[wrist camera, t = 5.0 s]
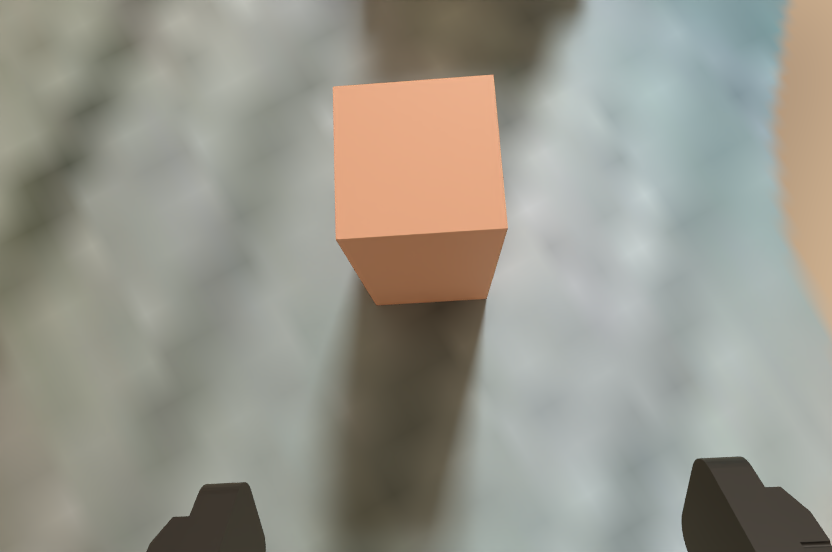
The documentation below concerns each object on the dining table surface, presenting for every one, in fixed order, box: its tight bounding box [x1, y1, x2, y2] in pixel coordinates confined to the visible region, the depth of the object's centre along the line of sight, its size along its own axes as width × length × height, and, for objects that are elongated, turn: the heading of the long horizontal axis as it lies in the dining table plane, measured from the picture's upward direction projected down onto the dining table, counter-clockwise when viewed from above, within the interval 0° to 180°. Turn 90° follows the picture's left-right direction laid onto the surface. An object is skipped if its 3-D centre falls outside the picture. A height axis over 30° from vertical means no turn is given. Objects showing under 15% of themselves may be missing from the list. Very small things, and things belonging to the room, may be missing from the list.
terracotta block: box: [333, 75, 508, 305], centre depth 20 cm, size 4×4×9 cm
